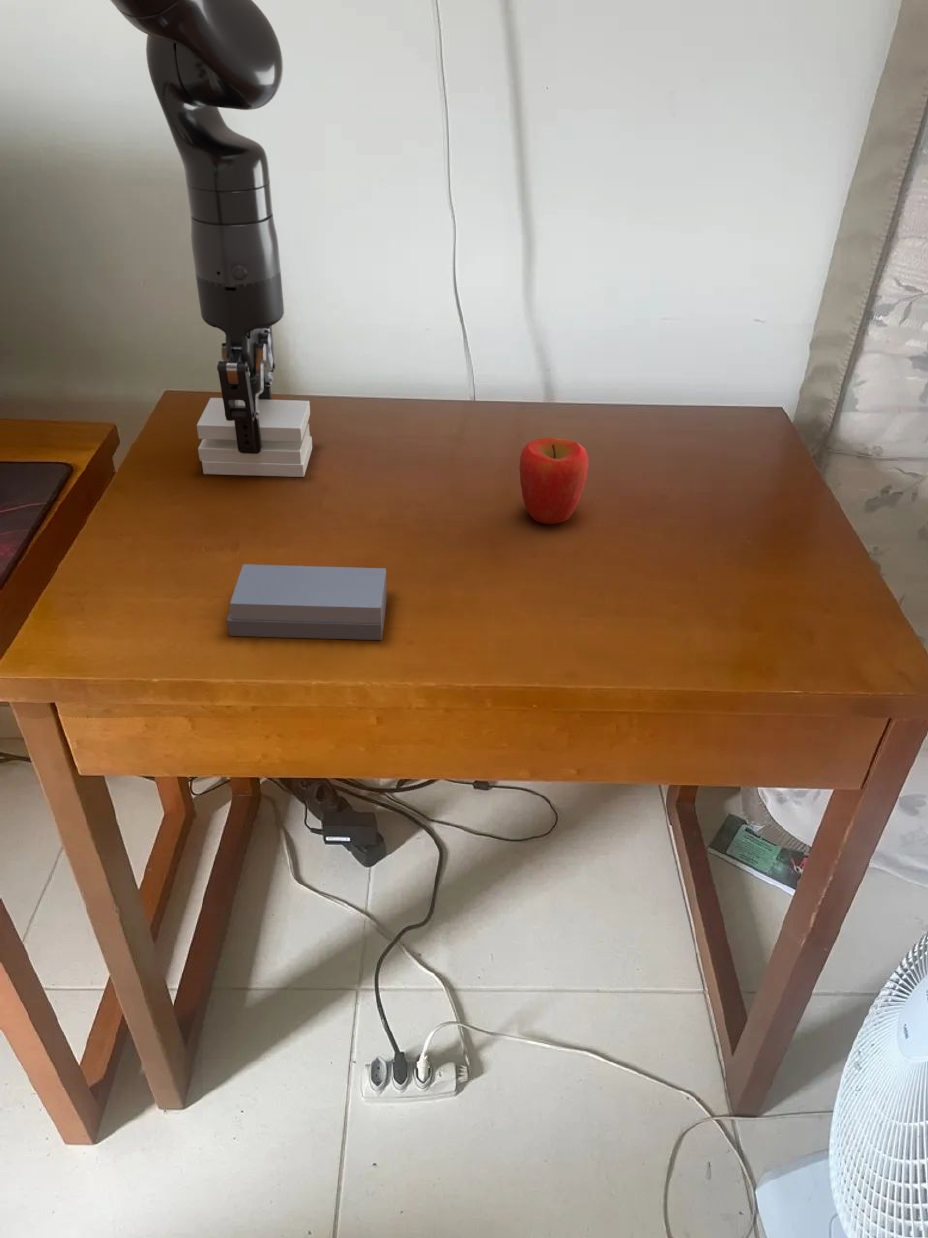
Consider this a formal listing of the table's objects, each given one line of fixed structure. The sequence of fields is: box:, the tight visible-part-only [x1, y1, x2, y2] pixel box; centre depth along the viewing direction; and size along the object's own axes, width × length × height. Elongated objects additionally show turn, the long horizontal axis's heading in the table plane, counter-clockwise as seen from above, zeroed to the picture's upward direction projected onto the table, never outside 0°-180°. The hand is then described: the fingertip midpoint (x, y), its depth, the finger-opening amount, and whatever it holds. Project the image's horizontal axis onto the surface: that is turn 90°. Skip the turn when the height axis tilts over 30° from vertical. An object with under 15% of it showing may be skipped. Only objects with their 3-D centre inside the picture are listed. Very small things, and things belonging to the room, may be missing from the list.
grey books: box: [226, 563, 388, 641], centre depth 78 cm, size 12×6×3 cm, turn 89°
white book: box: [196, 397, 311, 442], centre depth 97 cm, size 10×6×2 cm, turn 89°
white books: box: [197, 423, 313, 478], centre depth 99 cm, size 10×6×3 cm, turn 89°
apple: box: [519, 437, 590, 525], centre depth 91 cm, size 6×6×8 cm
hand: (256, 435), depth 98 cm, fingers closed on white book, 6 cm apart
